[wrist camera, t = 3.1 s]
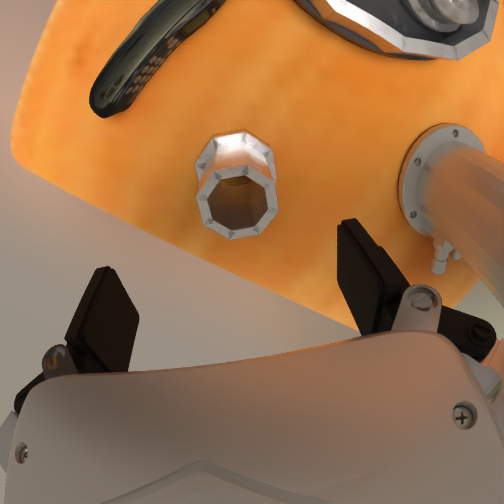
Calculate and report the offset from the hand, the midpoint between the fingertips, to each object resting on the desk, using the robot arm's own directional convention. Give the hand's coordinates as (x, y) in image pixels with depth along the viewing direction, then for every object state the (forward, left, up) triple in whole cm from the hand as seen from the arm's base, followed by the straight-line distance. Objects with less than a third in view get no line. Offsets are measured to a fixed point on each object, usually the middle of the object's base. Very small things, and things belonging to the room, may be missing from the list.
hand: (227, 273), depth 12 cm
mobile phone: (+12, +2, -14) cm, 19 cm away
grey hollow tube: (0, -1, -14) cm, 14 cm away
